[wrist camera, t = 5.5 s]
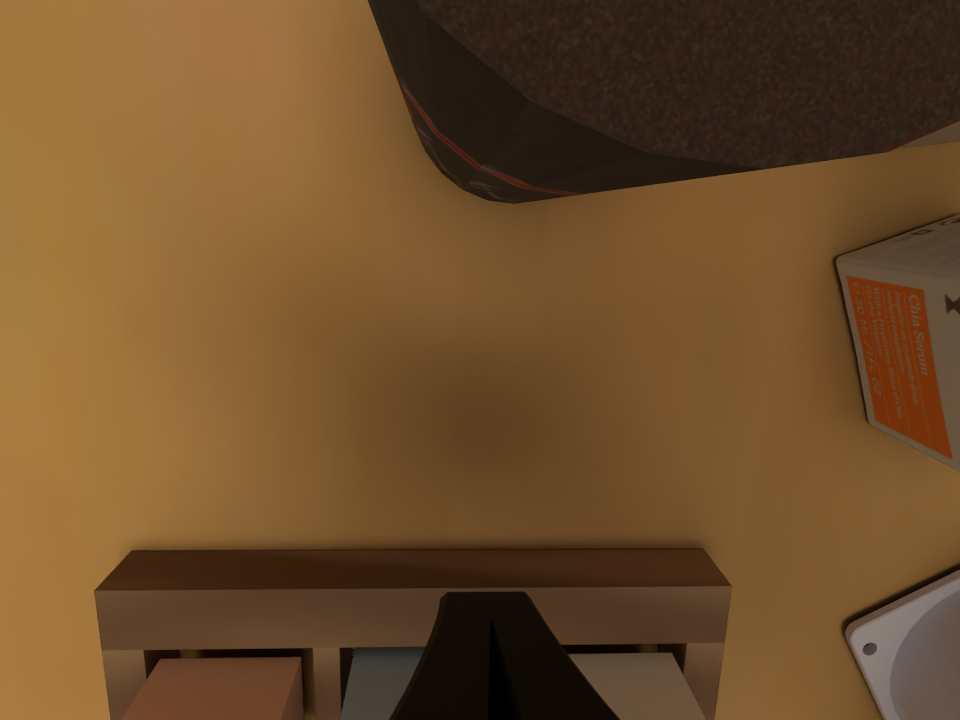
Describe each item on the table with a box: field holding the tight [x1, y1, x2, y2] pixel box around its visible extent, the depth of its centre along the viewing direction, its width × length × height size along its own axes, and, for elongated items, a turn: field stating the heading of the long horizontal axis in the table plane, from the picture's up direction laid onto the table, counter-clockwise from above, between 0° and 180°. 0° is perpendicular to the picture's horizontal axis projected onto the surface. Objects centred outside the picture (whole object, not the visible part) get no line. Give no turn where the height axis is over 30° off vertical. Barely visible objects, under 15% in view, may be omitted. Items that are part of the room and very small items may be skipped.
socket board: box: [94, 549, 732, 720], centre depth 21 cm, size 9×19×2 cm, turn 88°
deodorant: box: [368, 0, 960, 204], centre depth 11 cm, size 6×6×15 cm
